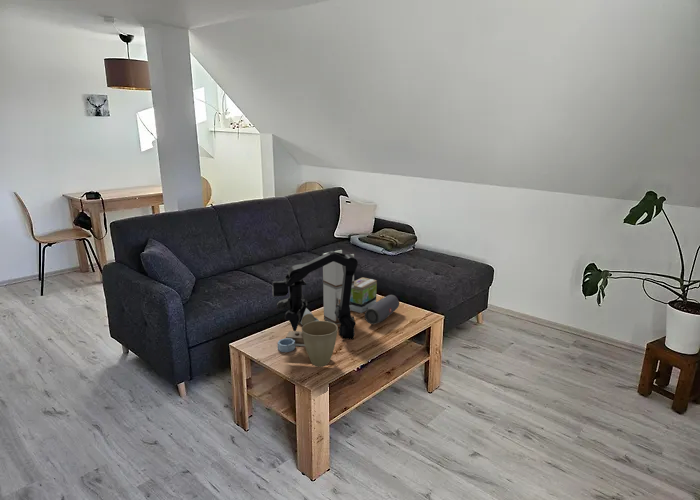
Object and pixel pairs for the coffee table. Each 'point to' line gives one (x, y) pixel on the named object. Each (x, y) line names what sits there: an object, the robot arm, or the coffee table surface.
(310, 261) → the robot arm
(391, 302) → the bluetooth speaker
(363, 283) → the tea box
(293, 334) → the lid
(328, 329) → the plant pot
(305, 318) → the ceramic mug
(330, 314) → the tall grey upright box
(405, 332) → the coffee table surface
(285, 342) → the bowl
